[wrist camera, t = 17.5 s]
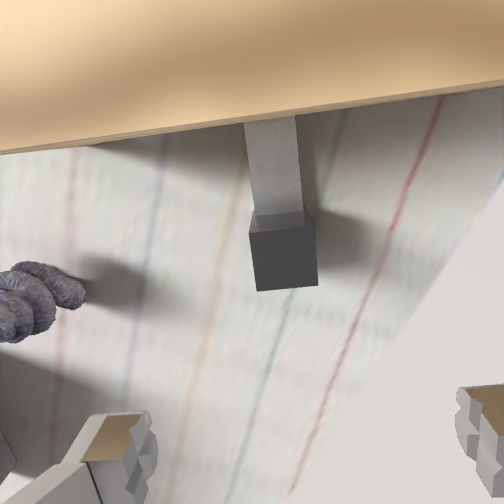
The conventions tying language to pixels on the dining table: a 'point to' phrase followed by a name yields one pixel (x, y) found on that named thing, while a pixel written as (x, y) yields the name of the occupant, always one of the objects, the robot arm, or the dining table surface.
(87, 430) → the robot arm
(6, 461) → the hip flask
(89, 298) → the dining table surface
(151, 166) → the dining table surface
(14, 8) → the cabinet
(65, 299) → the grey lumpy tall piece
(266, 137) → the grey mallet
